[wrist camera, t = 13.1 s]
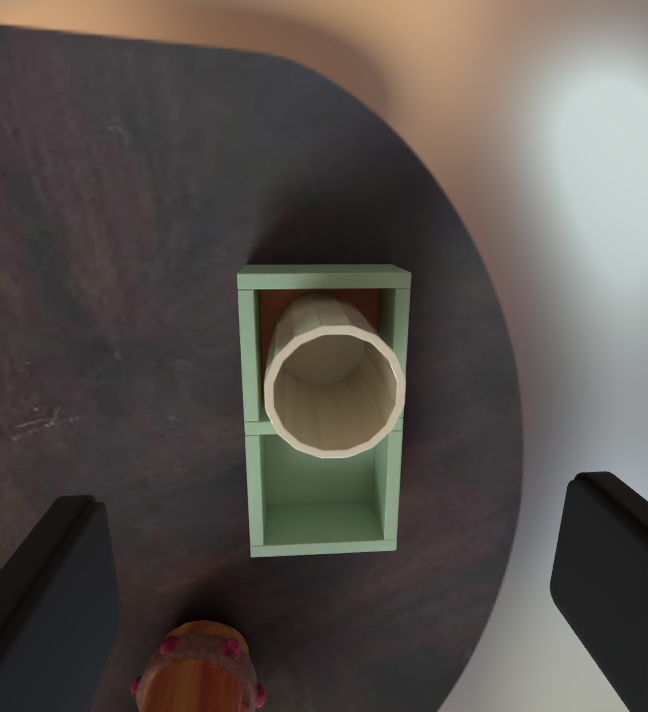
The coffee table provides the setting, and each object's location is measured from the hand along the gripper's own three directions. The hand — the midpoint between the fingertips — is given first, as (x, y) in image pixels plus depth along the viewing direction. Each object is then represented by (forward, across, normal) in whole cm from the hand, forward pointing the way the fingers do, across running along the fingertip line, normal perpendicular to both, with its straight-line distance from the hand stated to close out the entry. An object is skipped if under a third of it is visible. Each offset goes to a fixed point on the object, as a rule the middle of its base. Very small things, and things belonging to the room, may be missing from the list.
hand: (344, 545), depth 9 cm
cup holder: (+20, -1, +5) cm, 21 cm away
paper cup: (+20, -1, +1) cm, 20 cm away
